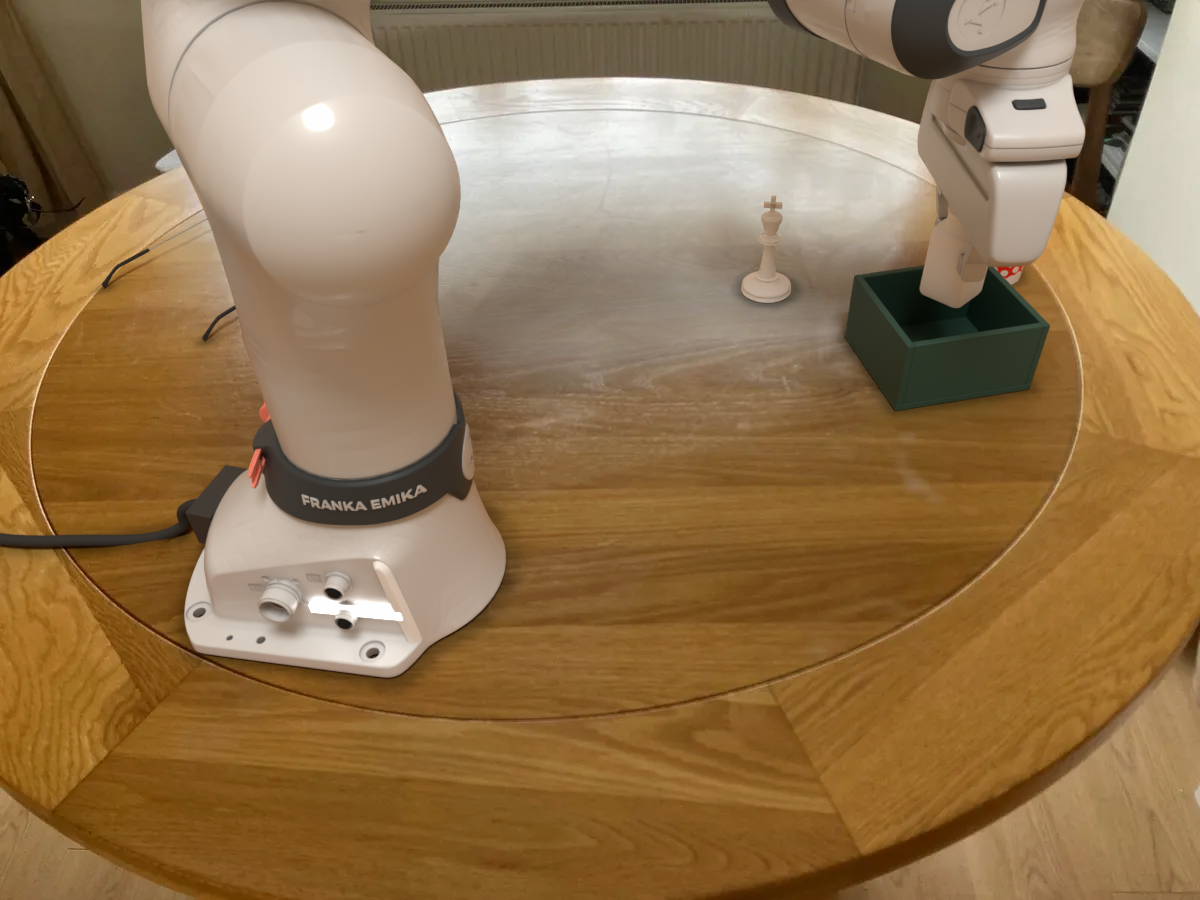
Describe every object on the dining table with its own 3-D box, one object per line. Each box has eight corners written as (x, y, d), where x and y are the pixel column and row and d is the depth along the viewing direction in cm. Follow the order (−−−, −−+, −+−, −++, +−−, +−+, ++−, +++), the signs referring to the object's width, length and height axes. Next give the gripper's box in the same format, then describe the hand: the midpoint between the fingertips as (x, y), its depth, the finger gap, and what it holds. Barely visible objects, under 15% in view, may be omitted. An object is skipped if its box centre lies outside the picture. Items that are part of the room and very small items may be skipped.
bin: (894, 411, 80) (908, 347, 76) (844, 336, 89) (853, 274, 84) (1029, 389, 82) (1050, 325, 77) (967, 317, 90) (983, 256, 86)
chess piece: (789, 305, 93) (799, 211, 86) (738, 301, 94) (744, 208, 87) (792, 278, 97) (802, 186, 90) (743, 274, 97) (749, 183, 91)
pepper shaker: (957, 313, 79) (983, 207, 72) (915, 294, 81) (936, 190, 74) (983, 293, 80) (1011, 189, 74) (941, 276, 83) (965, 173, 76)
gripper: (915, 40, 77) (888, 198, 86) (998, 150, 62) (954, 328, 71) (994, 36, 77) (958, 195, 86) (1097, 145, 61) (1040, 325, 71)
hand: (957, 256), depth 78 cm, fingers closed on pepper shaker, 5 cm apart
